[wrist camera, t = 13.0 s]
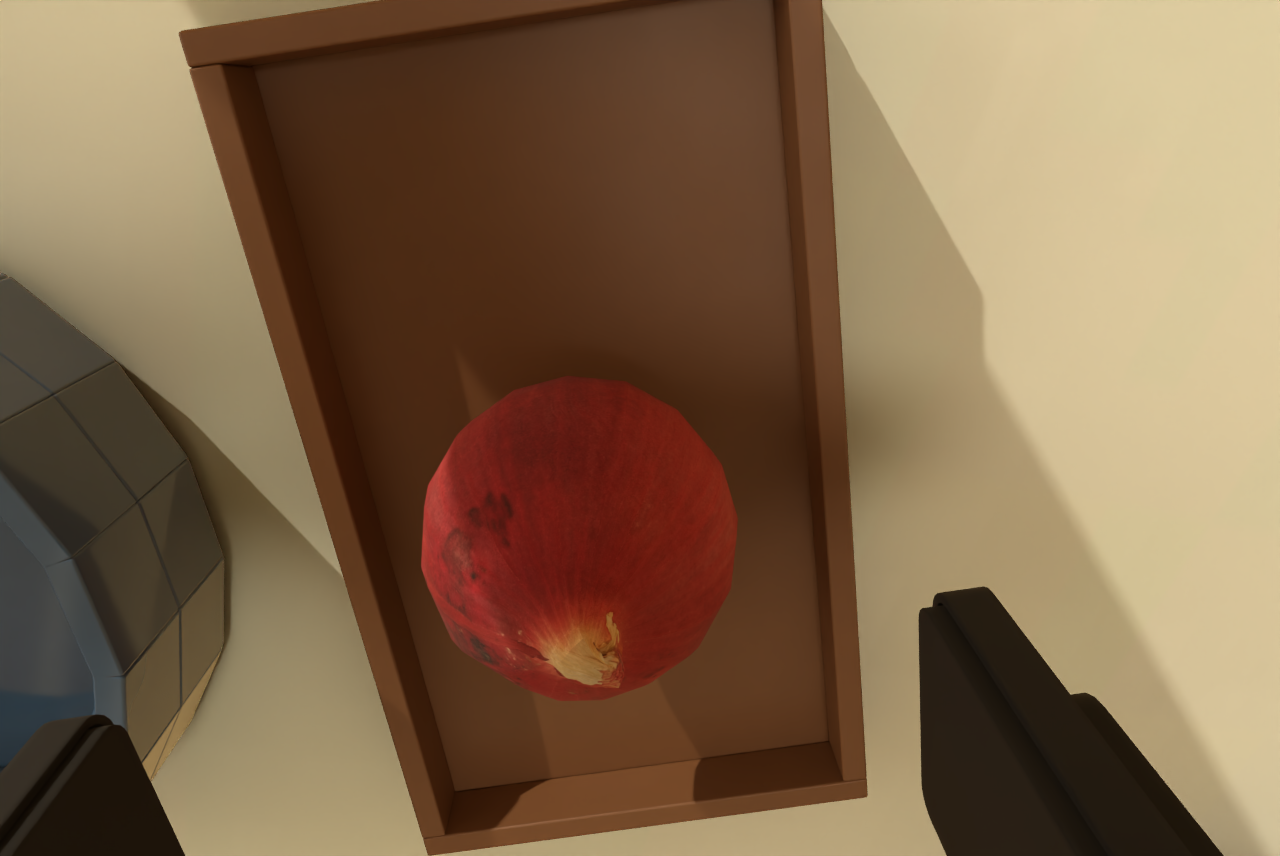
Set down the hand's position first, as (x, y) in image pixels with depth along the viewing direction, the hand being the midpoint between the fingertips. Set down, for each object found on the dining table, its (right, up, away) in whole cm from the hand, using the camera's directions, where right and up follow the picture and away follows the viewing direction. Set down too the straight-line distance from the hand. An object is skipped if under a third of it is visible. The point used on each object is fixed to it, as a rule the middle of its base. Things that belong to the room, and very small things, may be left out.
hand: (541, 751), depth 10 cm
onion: (0, +3, +10) cm, 10 cm away
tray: (0, +3, +10) cm, 11 cm away
